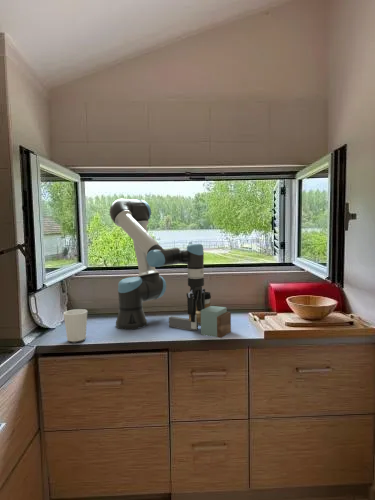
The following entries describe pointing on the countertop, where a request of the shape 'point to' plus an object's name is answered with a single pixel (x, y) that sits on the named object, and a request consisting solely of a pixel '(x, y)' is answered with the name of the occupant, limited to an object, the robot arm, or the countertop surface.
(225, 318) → the wall
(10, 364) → the countertop surface
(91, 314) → the countertop surface
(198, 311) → the oak peg
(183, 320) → the rail
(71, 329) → the cup
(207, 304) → the coffee cup
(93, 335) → the countertop surface
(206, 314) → the bore block
